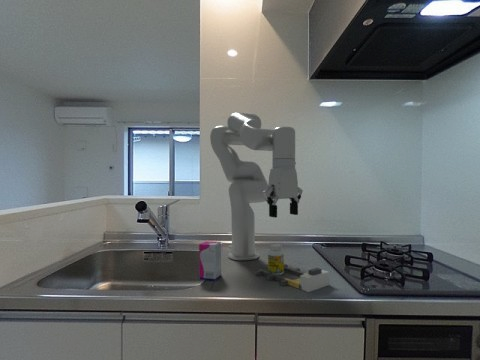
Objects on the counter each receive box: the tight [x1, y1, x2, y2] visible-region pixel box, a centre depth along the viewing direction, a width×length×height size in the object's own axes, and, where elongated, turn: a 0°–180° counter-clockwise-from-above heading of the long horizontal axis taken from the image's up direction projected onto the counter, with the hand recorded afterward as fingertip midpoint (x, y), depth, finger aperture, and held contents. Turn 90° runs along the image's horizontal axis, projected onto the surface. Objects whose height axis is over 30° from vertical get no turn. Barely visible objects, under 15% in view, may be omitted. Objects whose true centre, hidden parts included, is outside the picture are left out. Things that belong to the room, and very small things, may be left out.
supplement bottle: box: [267, 243, 285, 276], centre depth 104 cm, size 5×5×10 cm
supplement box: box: [198, 240, 222, 282], centre depth 100 cm, size 6×6×12 cm
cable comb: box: [255, 263, 330, 293], centre depth 98 cm, size 22×14×5 cm, turn 36°
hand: (283, 215), depth 102 cm, fingers open, 9 cm apart
